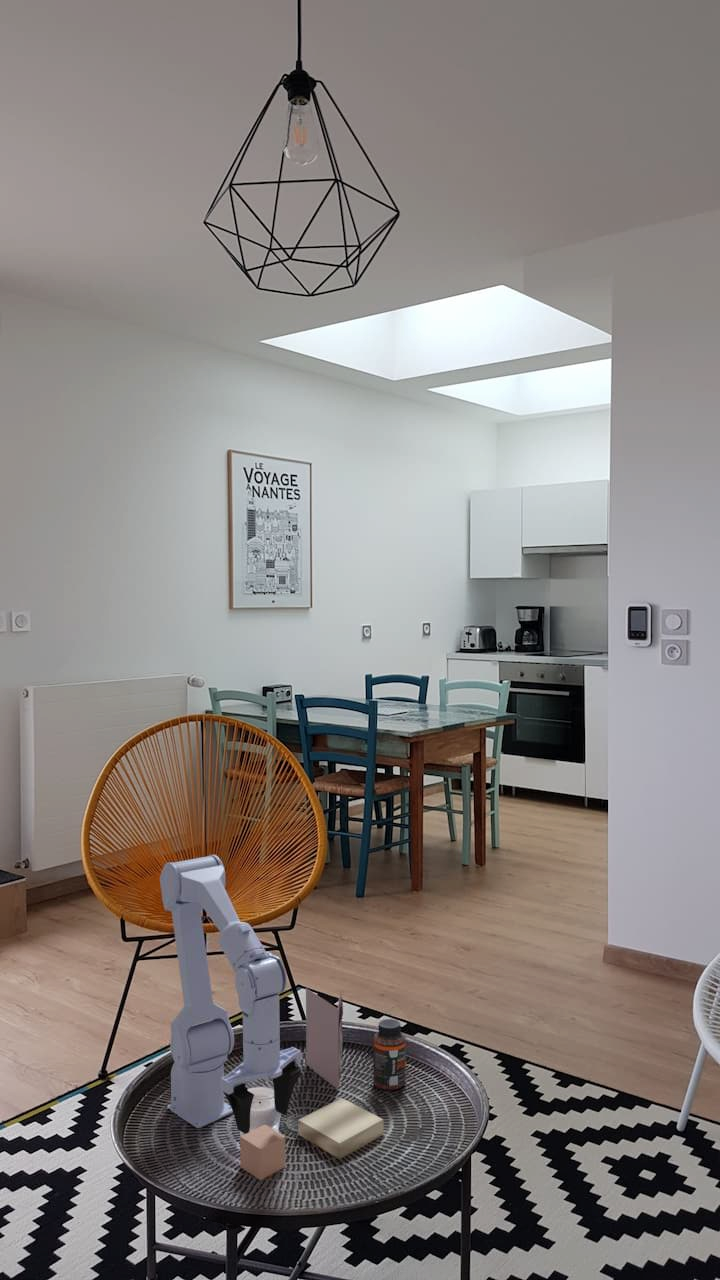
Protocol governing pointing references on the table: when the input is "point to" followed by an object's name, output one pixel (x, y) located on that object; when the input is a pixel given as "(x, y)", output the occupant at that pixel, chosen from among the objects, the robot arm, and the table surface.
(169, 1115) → the table surface
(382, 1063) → the supplement bottle
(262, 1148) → the terracotta cube
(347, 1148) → the birch block
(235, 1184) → the table surface
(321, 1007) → the greeting card
